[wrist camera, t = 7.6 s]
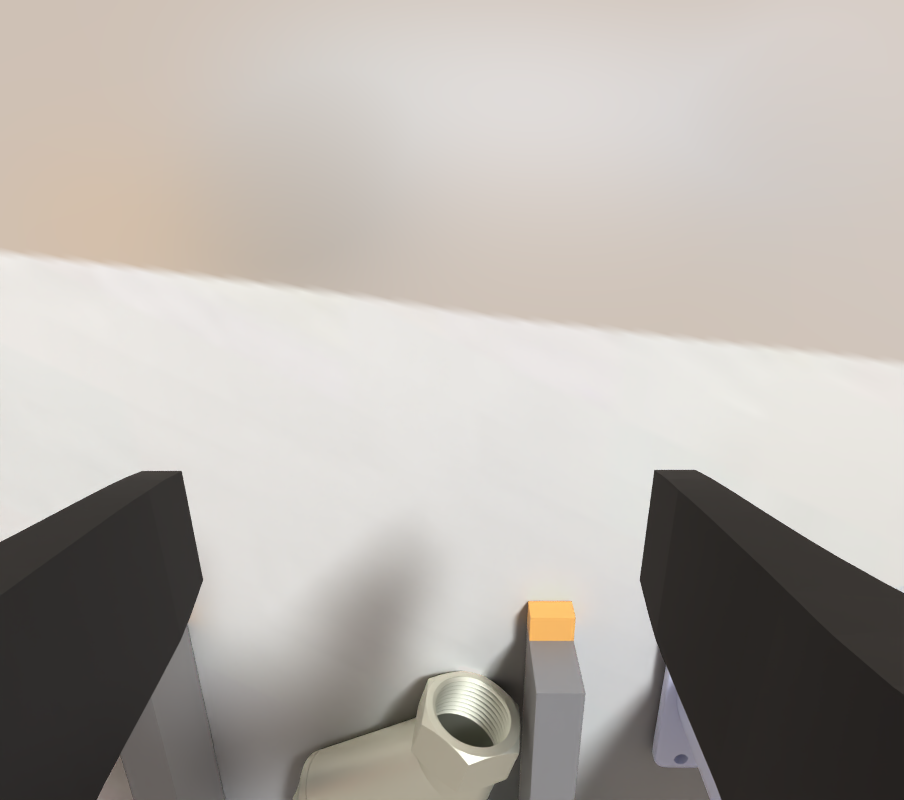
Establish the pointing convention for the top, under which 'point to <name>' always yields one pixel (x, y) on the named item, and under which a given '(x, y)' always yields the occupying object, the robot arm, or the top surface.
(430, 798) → the pipe fitting
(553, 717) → the bracket
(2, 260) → the top surface
